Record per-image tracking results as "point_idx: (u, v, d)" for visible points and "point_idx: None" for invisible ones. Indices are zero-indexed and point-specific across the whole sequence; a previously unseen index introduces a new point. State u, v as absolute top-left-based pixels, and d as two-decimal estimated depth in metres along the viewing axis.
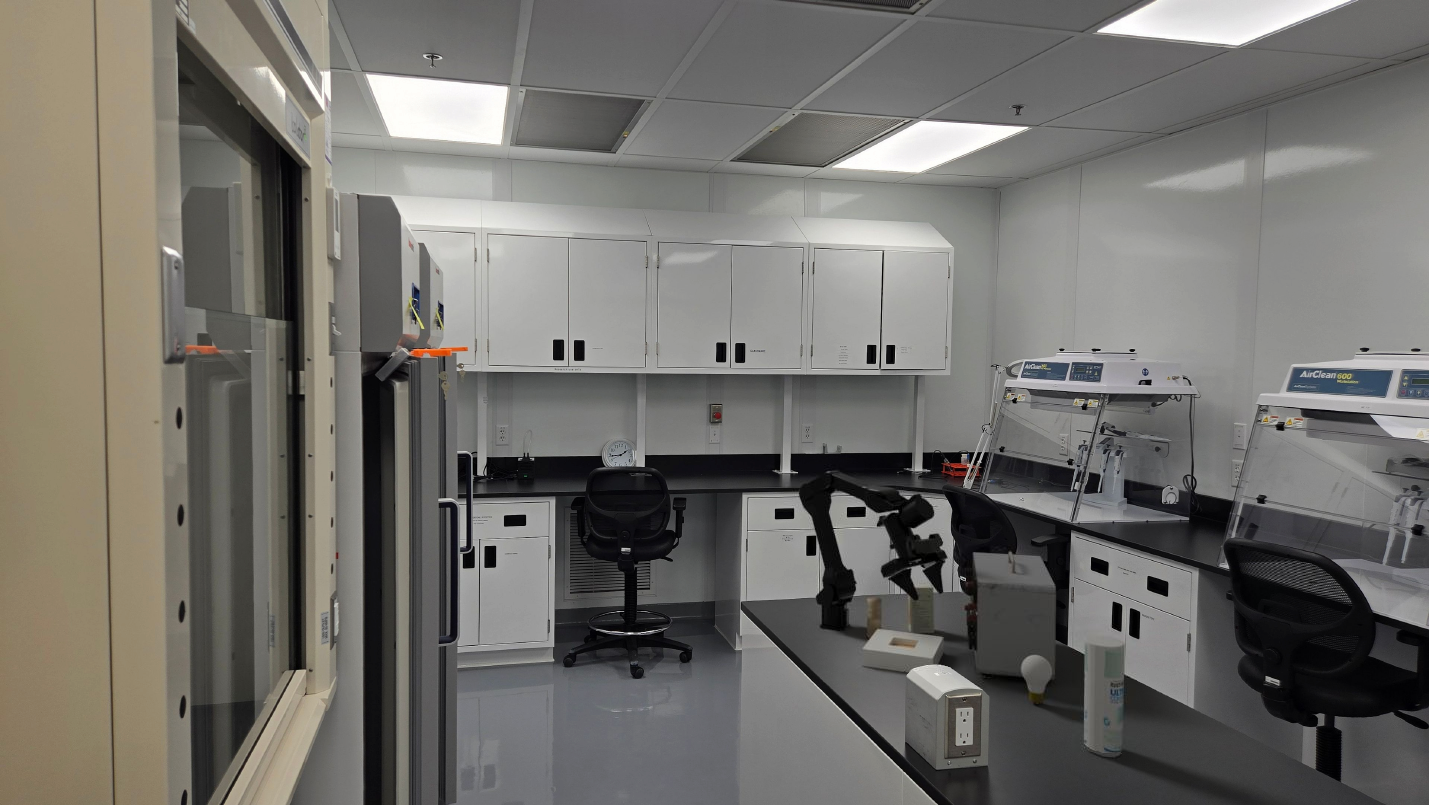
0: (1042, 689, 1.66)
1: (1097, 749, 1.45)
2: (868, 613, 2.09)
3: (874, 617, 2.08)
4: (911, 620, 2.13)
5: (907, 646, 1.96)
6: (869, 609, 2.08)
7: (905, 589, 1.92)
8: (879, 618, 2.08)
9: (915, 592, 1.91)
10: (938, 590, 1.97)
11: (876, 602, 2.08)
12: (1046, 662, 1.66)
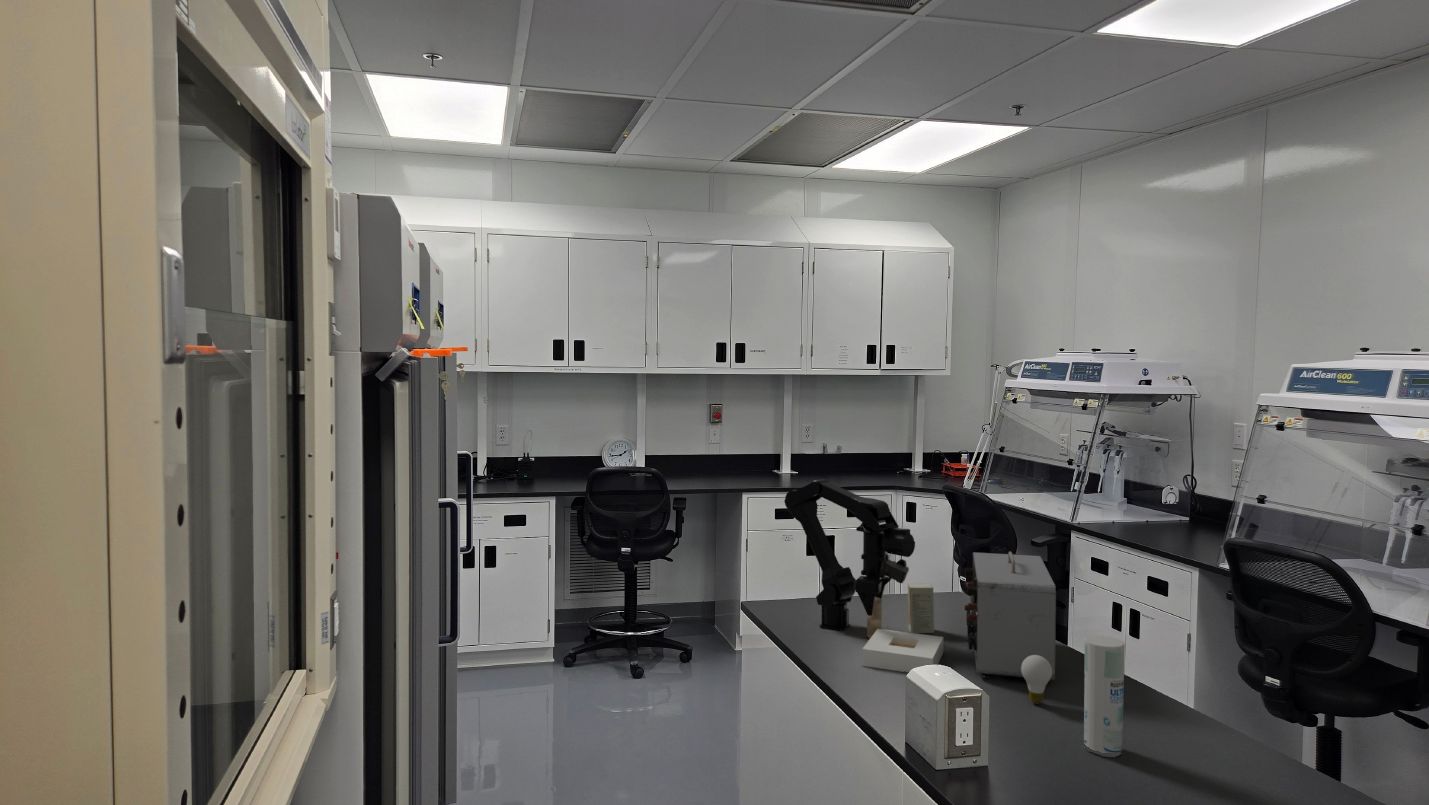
0: (1042, 689, 1.66)
1: (1097, 749, 1.45)
2: None
3: (874, 617, 2.08)
4: (911, 620, 2.13)
5: (907, 646, 1.96)
6: None
7: (865, 603, 2.05)
8: (879, 618, 2.08)
9: (872, 609, 2.05)
10: None
11: (876, 602, 2.08)
12: (1046, 662, 1.66)
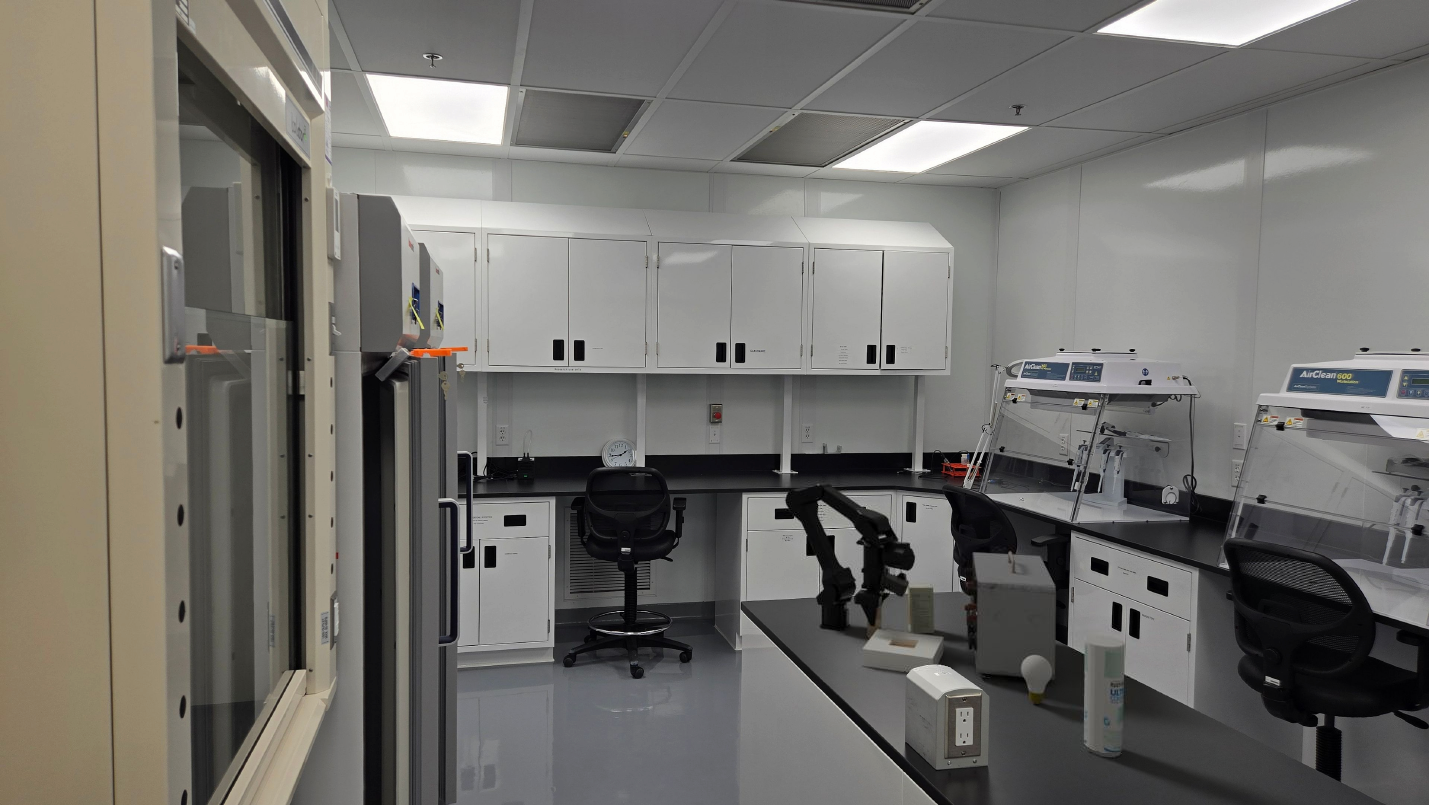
0: (1042, 689, 1.66)
1: (1097, 749, 1.45)
2: None
3: None
4: (911, 620, 2.13)
5: (907, 646, 1.96)
6: None
7: (867, 614, 2.07)
8: (879, 618, 2.08)
9: (875, 620, 2.07)
10: None
11: None
12: (1046, 662, 1.66)
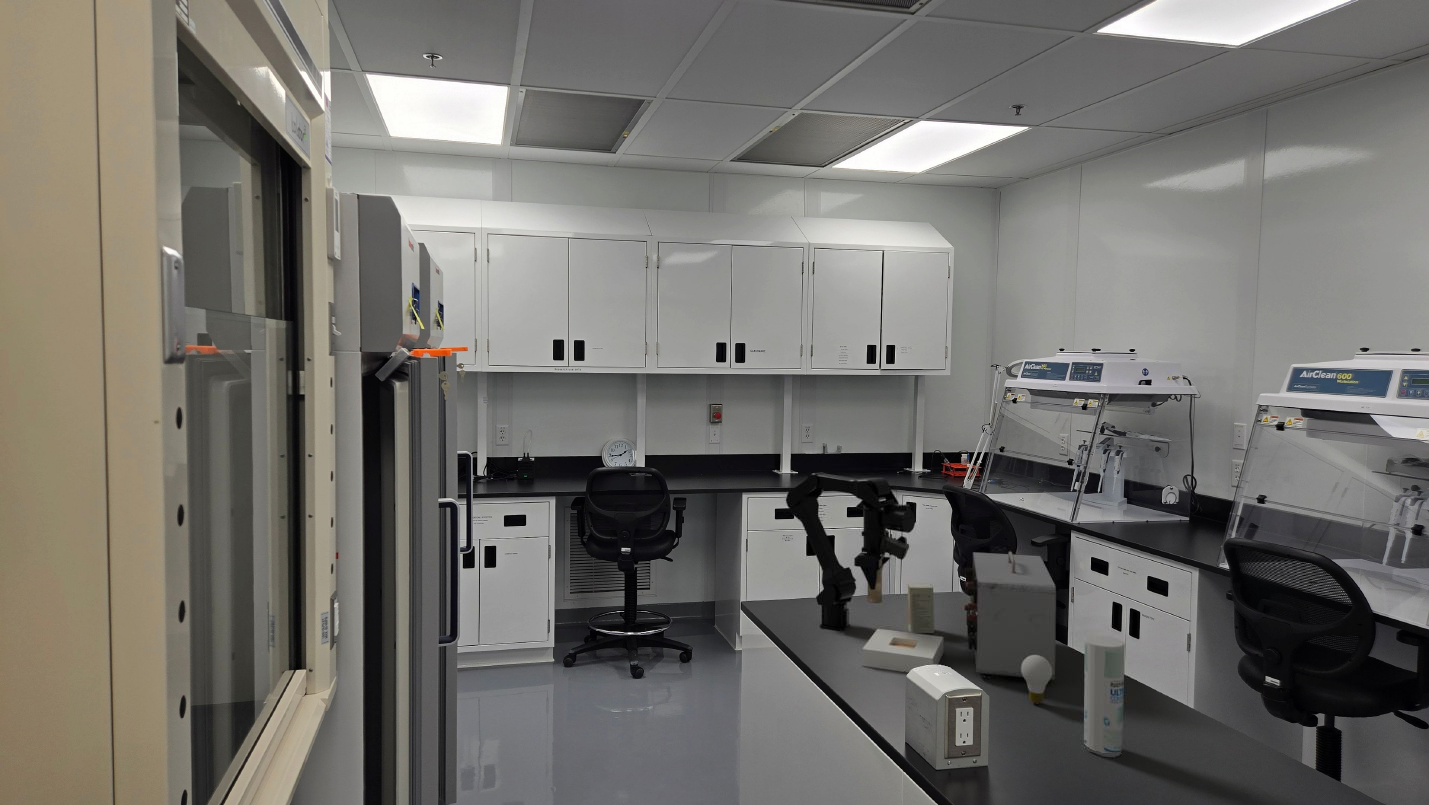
0: (1042, 689, 1.66)
1: (1097, 749, 1.45)
2: None
3: None
4: (911, 620, 2.13)
5: (907, 646, 1.96)
6: None
7: (868, 577, 2.07)
8: (879, 581, 2.08)
9: (875, 583, 2.07)
10: None
11: None
12: (1046, 662, 1.66)
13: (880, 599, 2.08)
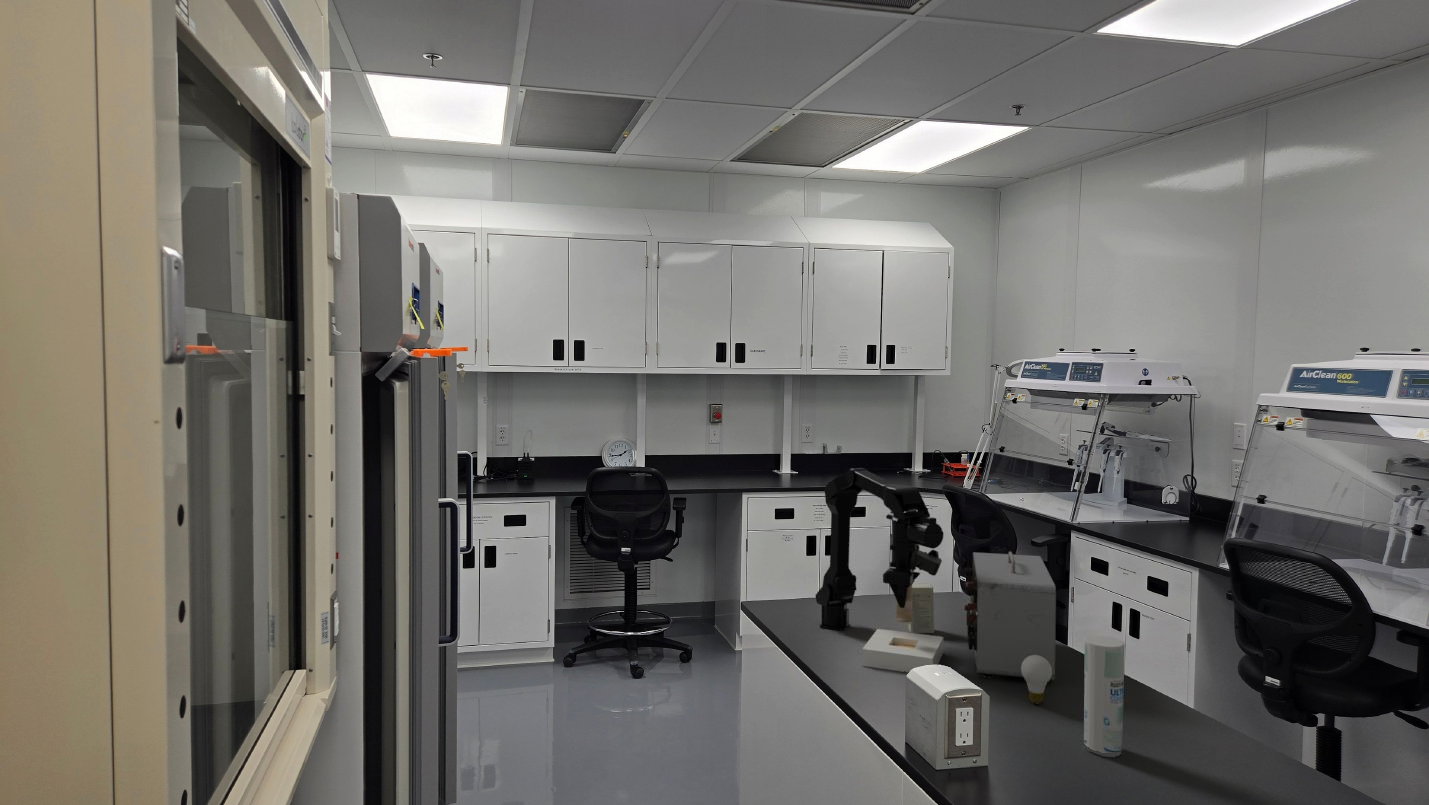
0: (1042, 689, 1.66)
1: (1097, 749, 1.45)
2: None
3: None
4: None
5: (907, 646, 1.96)
6: None
7: (897, 595, 1.91)
8: (909, 599, 1.92)
9: (905, 601, 1.91)
10: None
11: None
12: (1046, 662, 1.66)
13: (910, 618, 1.92)
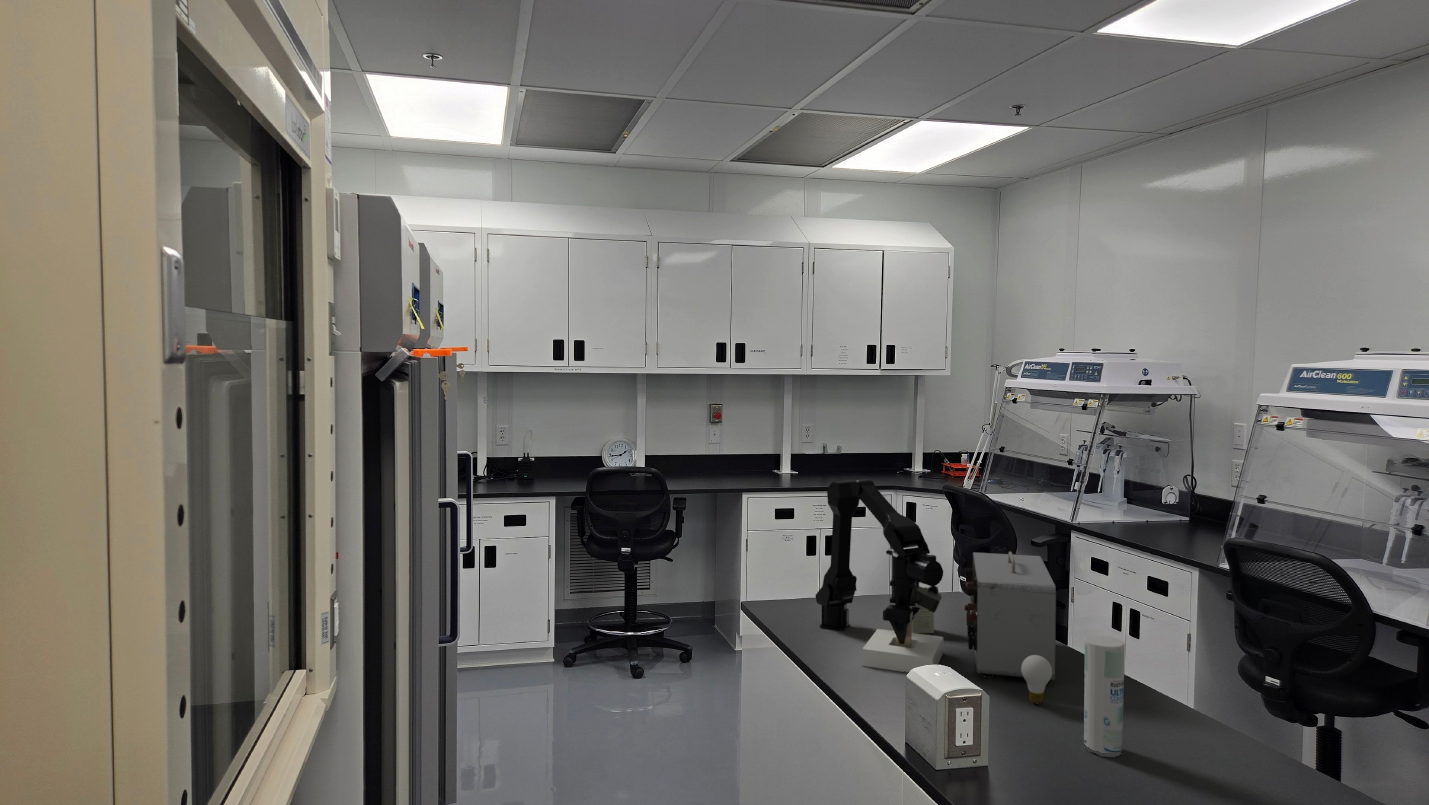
0: (1042, 689, 1.66)
1: (1097, 749, 1.45)
2: None
3: None
4: None
5: None
6: None
7: (897, 631, 1.91)
8: (909, 635, 1.92)
9: (905, 637, 1.91)
10: None
11: None
12: (1046, 662, 1.66)
13: None
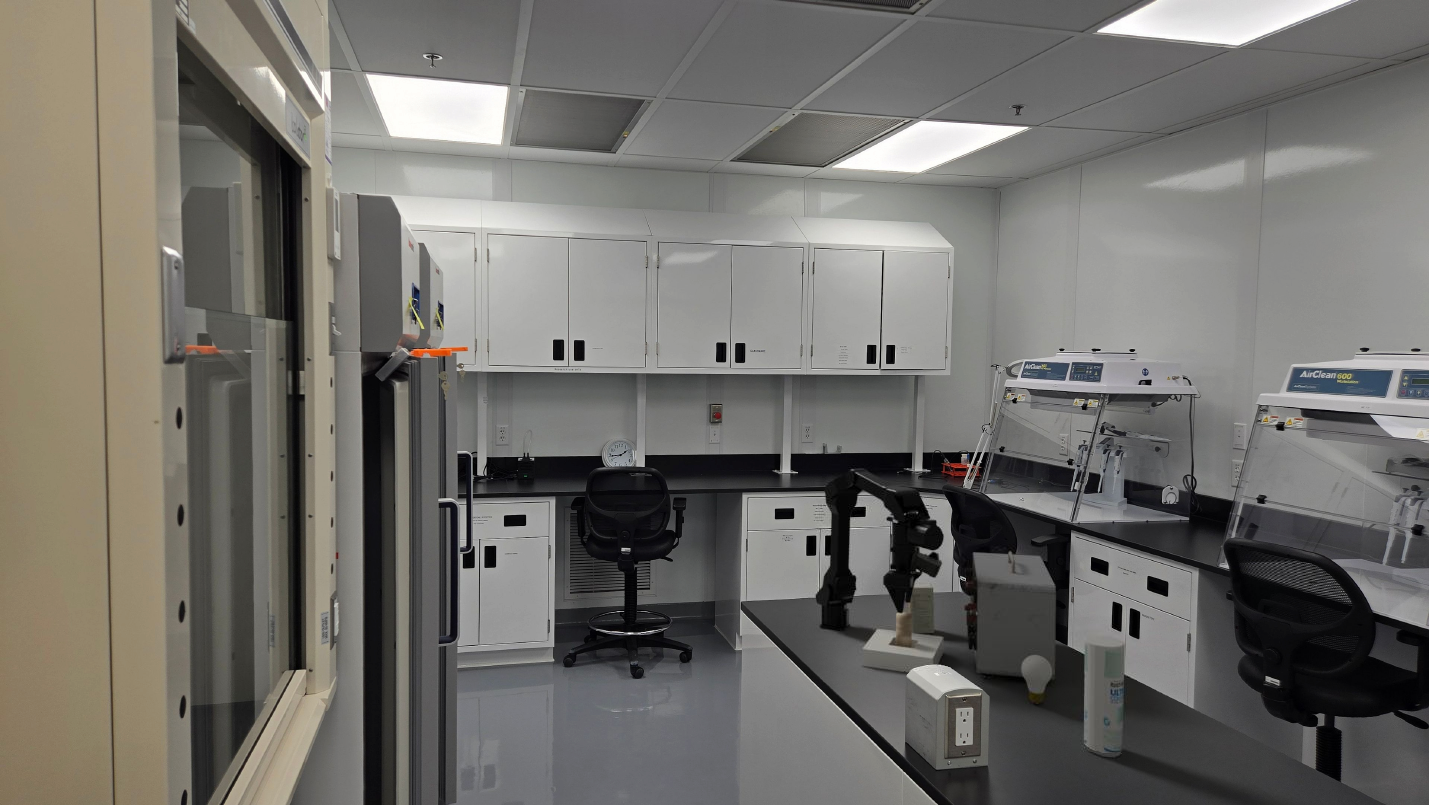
0: (1042, 689, 1.66)
1: (1097, 749, 1.45)
2: (897, 629, 1.93)
3: (904, 634, 1.92)
4: None
5: None
6: (898, 625, 1.93)
7: (895, 600, 1.88)
8: (909, 635, 1.92)
9: (903, 606, 1.88)
10: (906, 599, 1.97)
11: (906, 617, 1.92)
12: (1046, 662, 1.66)
13: None
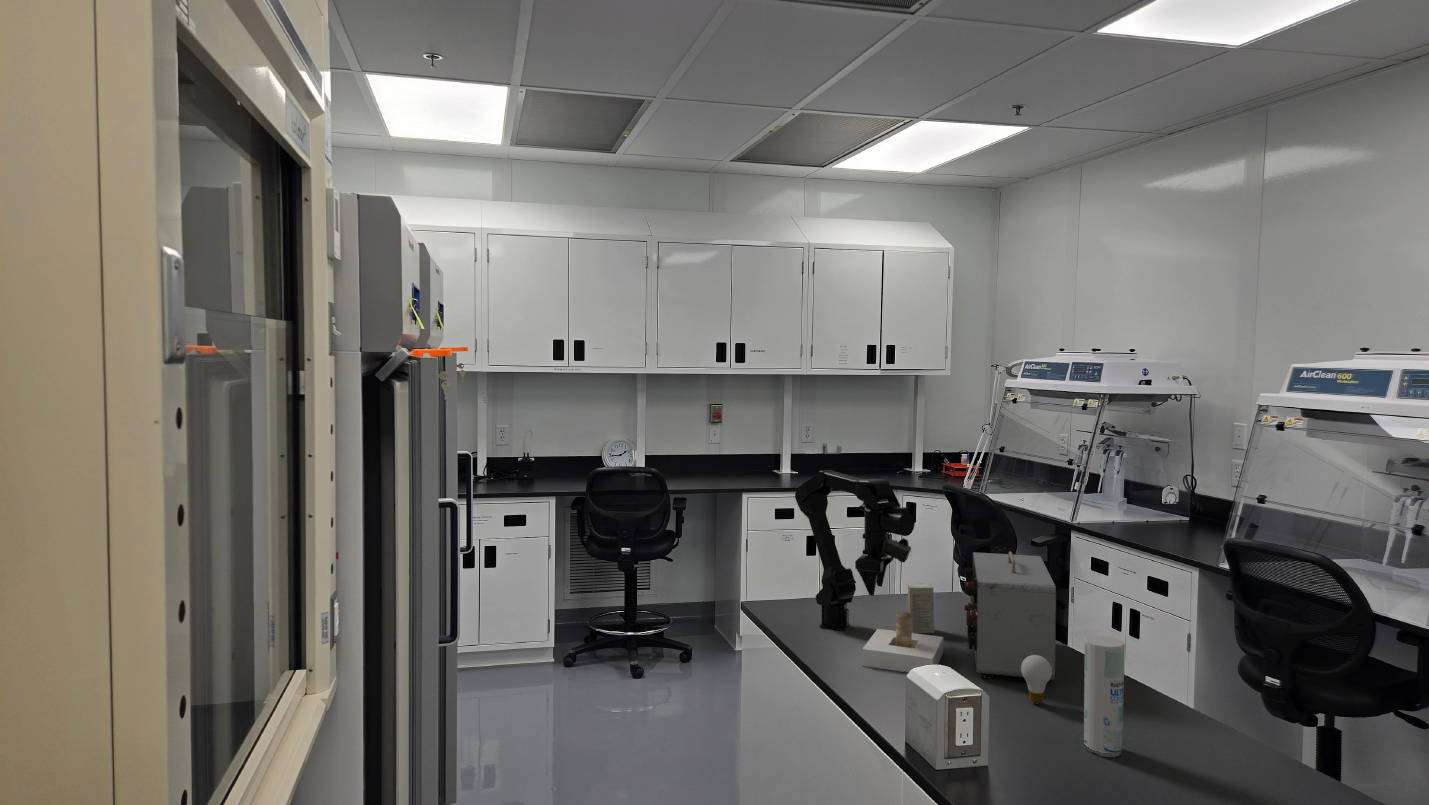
0: (1042, 689, 1.66)
1: (1097, 749, 1.45)
2: (897, 629, 1.93)
3: (904, 634, 1.92)
4: None
5: None
6: (898, 625, 1.93)
7: (866, 583, 2.01)
8: (909, 635, 1.92)
9: (874, 589, 2.01)
10: (878, 582, 2.10)
11: (906, 617, 1.92)
12: (1046, 662, 1.66)
13: None
